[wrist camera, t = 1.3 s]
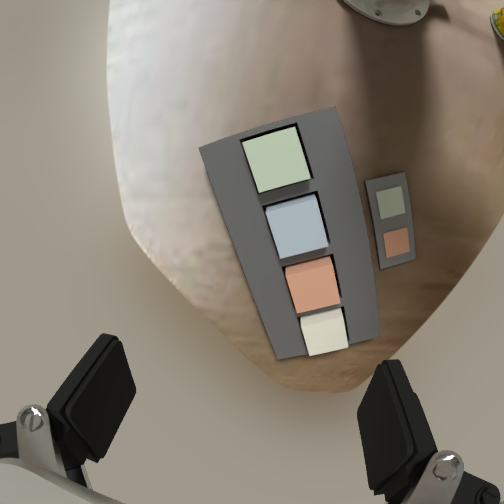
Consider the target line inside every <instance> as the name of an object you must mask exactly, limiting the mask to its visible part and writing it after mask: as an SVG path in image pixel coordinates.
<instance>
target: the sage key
mask: <svg viewBox="0 0 504 504" xmlns="http://www.w3.org/2000/svg"><path fill="white" fill-rule="evenodd" d="M242 144H243V147H244V150H245V153H246V155H247V158H248V161H249V164H250V167H251V170H252V173H253V176H254V179H255V182H256V185H257V188H258V191H259V193H260V192H264V191H267V190H271V189H274V188H278V187H281V186H285V185H288V184H292V183H295V182H299V181H303V180H306V179H310V174H309V171H308V167H307V164H306V161H305V157H304V154H303V151H302V147H301V144H300V141H299V138H298V135H297V132H296V129H295V127H292V128H288V129H285V130H281V131H278V132H274V133H271V134H267V135H264V136H261V137H258V138H255V139H251V140H248V141H245V142H242Z"/></svg>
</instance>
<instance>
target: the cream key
mask: <svg viewBox="0 0 504 504" xmlns="http://www.w3.org/2000/svg"><path fill="white" fill-rule="evenodd" d="M301 328H302V332H303V335H304V339H305V342H306V345H307V349H308V352H309V356H312V355H317V354H322V353H326V352H331V351H335V350H339V349H343V348H348V342H347V336H346V330H345V325H344V319H343V315H342V311H341V307H338V308H334V309H330V310H326V311H322V312H318V313H313V314H309V315H305V316H301Z"/></svg>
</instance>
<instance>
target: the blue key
mask: <svg viewBox="0 0 504 504" xmlns="http://www.w3.org/2000/svg"><path fill="white" fill-rule="evenodd" d="M266 215H267V219H268V222H269V225H270V228H271V231H272V234H273V237H274V240H275V243H276V247H277V250H278V253H279V256H280V259H281V258H285V257H289V256H293V255H297V254H301V253H305V252H309V251H312V250H316V249H320V248H324V247H328V242H327V238H326V234H325V230H324V226H323V222H322V218H321V214H320V210H319V207H318V203H317V199H316V197H315V195H314V193H311V194H307V195H304V196H300V197H296V198H293V199H289V200H285V201H282V202H278V203H275V204H271V205H268V206H267V209H266Z"/></svg>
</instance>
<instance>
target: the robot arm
mask: <svg viewBox="0 0 504 504" xmlns="http://www.w3.org/2000/svg"><path fill="white" fill-rule="evenodd" d="M343 1H344V2H345V3H346V4H347V5H349V6H350V7H351V8H352V9H354V10H355V11H357V12H359V13H360V14H362V15H364V16H366V17H368V18H370V19H372V20H375V21H378V22H381V23H384V24H389V25H398V26H403V25H410V24H413V23H416V22H417V21H419V20H420V19H422V18H423V17H424V16H425V15H426V13H427V11H428V9H429V0H343ZM377 15H378V16H377ZM135 394H136V386H135V383H134V380H133V378H132V375H131V371H130V368H129V365H128V362H127V359H126V355H125V352H124V349H123V345H122V342H121V341H119V339H118V338H117V336H113V335H109V334H104V333H103V334H101V335H100V336H99V338H98V339H97V340H96V341H95V342H94V344H93V345H92V346H91V347H90V349H89V350H88V351H87V352H86V354H85V355H84V356H83V358H82V359H81V360H80V361H79V363H78V364H77V365H76V367H75V368H74V369H73V370H72V372H71V373H70V375H69V376H68V377H67V378H66V380H65V381H64V382H63V384H62V385H61V386H60V388H59V389H58V391H57V392H56V394H55V395H54V396H53V397H52V399H51V400H50V402H49V403H48V405H47V408H46V409H44V408H43V407H41V406H39V405H28V406H26V407H24V408H23V409H22V410H21V411H20V412H19V413H18V416H17V421H14V422H10V423H6V424H0V504H125V503H122V502H119V501H117V500H114V499H112V498H109V497H107V496H105V495H102V494H100V493H97V492H95V491H93V489H92V486H91V483H90V481H89V478H88V475H87V472H86V469H85V466H84V462H85V460H86V459H89V460H91V461H94V462H96V463H98V462H99V460H100V458H104V456H105V455H106V453H107V450H108V448H109V446H110V444H111V442H112V440H113V438H114V436H115V434H116V432H117V430H118V428H119V426H120V424H121V422H122V420H123V418H124V416H125V414H126V412H127V410H128V408H129V406H130V404H131V402H132V400H133V398H134V396H135ZM357 419H358V424H359V430H360V434H361V440H362V446H363V452H364V458H365V464H366V471H367V477H368V484H369V488H370V490H373V491H374V495H380V494H385V501H386V503H385V504H504V501H503V502H500V492H499V489H498V488H497V487H496V486H495V485H493V484H491V483H489V482H487V481H485V480H482V479H480V478H478V477H476V476H474V475H471V474H469V473H467V472H465V471H464V464H463V461H462V459H461V457H460V456H459V455H458V454H457V453H455V452H453V451H450V450H443V451H440V452H438V450H437V447H436V444H435V441H434V439H433V435H432V433H431V430H430V427H429V424H428V422H427V419H426V417H425V414H424V411H423V409H422V406H421V404H420V401H419V399H418V396H417V395H416V393H414V392H413V390H412V388H411V385H410V383H409V380H408V378H407V376H406V374H405V371H404V369H403V366H402V364H401V362H400V360H398V359H396V360H384V361H382V363H381V364H378V365H377V367H376V370H375V372H374V375H373V377H372V380H371V382H370V384H369V386H368V388H367V391H366V393H365V395H364V397H363V399H362V402H361V404H360V406H359V408H358V411H357Z"/></svg>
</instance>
